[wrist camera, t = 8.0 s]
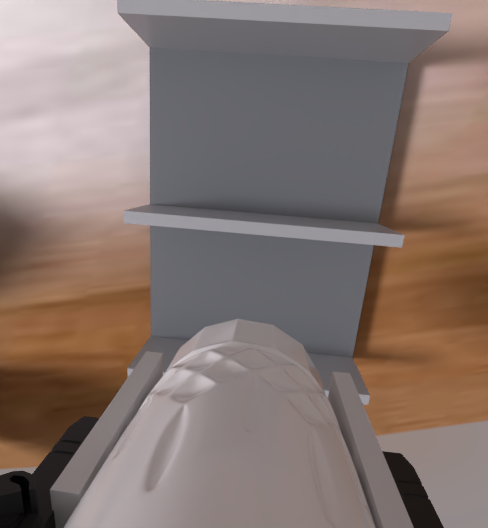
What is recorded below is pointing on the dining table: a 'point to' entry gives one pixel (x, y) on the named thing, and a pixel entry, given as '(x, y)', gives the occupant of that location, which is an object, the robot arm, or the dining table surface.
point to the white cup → (230, 444)
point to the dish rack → (270, 165)
